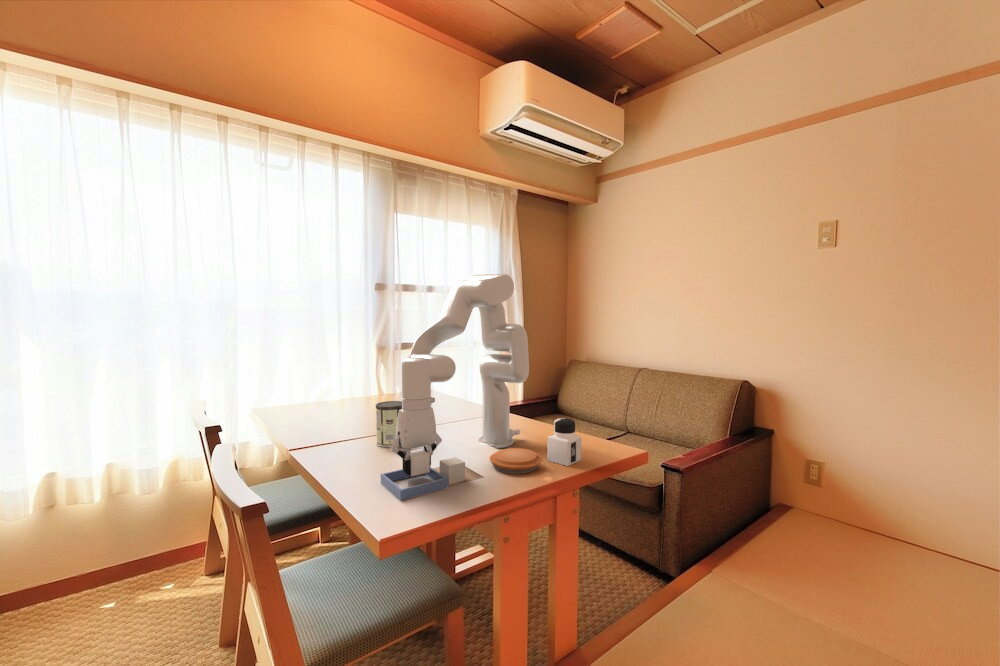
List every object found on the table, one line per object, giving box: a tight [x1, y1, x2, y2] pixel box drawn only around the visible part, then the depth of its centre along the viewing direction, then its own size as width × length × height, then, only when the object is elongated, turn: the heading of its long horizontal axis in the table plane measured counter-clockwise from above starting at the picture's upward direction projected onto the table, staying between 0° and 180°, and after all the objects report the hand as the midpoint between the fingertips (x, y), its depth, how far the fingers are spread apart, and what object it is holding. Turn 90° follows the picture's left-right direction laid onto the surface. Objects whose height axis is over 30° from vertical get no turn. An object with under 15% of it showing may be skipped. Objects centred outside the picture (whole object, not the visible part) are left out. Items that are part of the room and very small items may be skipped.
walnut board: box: [432, 465, 484, 487], centre depth 120 cm, size 11×14×1 cm
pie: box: [489, 447, 543, 474], centre depth 126 cm, size 15×16×5 cm
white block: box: [409, 448, 431, 477], centre depth 114 cm, size 5×5×5 cm
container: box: [546, 417, 582, 467], centre depth 133 cm, size 8×8×13 cm
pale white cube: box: [439, 456, 466, 485], centre depth 115 cm, size 5×5×5 cm
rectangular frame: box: [380, 466, 449, 501], centre depth 111 cm, size 13×13×4 cm
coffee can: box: [375, 400, 402, 448], centre depth 151 cm, size 10×10×14 cm
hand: (417, 470), depth 115 cm, fingers closed on white block, 4 cm apart
